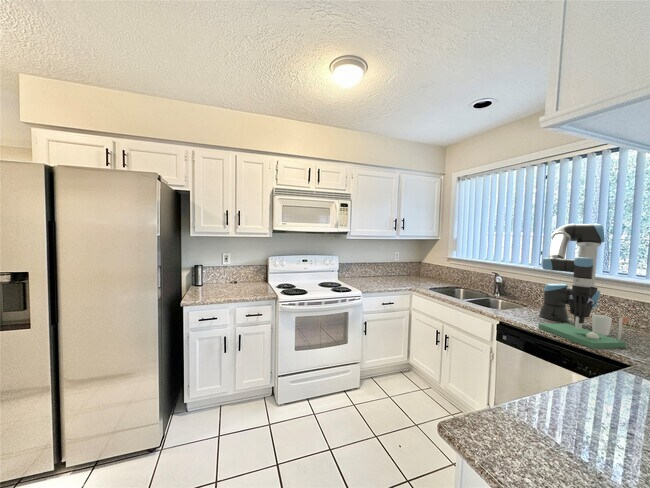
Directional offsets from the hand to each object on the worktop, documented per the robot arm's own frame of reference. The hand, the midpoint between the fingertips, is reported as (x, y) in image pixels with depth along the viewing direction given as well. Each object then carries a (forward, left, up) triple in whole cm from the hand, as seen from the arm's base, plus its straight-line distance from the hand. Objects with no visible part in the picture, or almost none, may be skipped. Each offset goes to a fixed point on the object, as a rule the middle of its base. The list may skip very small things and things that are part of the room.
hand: (578, 328), depth 147 cm
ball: (0, +7, -2) cm, 7 cm away
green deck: (-1, 0, -5) cm, 5 cm away
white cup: (-20, -4, -5) cm, 21 cm away
